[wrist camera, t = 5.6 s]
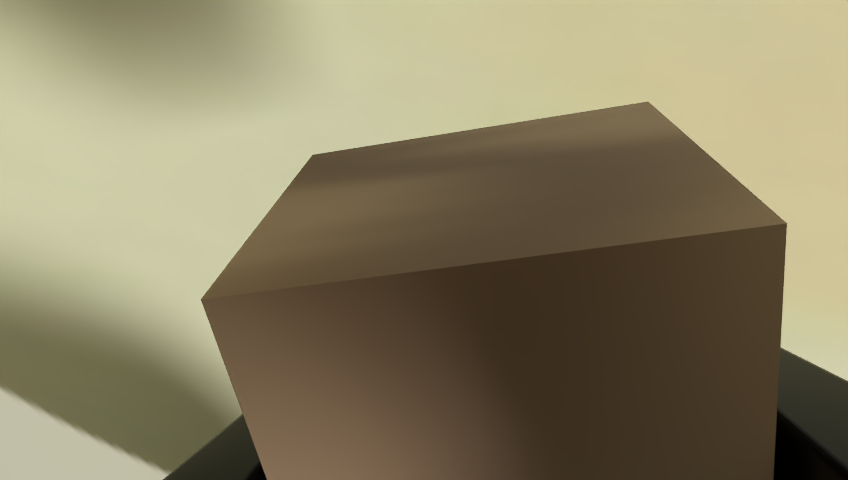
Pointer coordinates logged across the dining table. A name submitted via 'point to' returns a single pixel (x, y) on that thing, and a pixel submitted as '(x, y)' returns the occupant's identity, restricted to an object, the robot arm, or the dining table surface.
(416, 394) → the walnut block
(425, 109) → the dining table surface
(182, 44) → the dining table surface
